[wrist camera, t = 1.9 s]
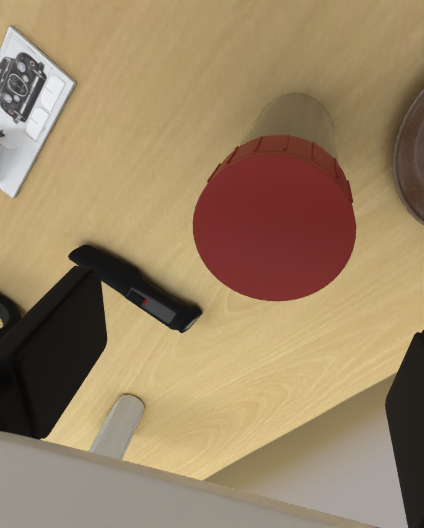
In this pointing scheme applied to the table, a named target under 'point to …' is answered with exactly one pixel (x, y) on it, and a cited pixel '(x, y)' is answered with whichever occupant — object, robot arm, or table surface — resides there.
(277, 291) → the lid
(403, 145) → the saucer
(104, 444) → the photo printer
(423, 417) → the robot arm
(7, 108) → the car cutout
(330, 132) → the thermos
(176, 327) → the electric trimmer
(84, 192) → the table surface
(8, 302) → the controller
